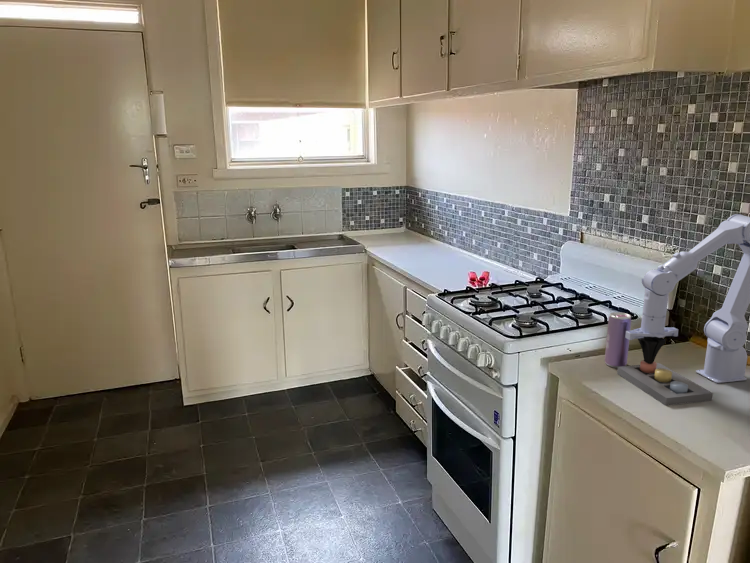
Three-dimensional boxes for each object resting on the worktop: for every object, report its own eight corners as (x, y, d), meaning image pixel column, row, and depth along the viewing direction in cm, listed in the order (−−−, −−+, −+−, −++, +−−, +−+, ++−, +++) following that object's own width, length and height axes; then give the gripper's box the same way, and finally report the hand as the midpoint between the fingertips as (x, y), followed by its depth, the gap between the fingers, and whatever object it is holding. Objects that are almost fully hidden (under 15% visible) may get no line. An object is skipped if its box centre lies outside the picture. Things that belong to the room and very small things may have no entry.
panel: (658, 369, 161) (659, 362, 161) (711, 400, 142) (712, 393, 142) (616, 373, 159) (617, 366, 158) (665, 405, 140) (666, 398, 139)
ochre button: (664, 375, 152) (665, 367, 152) (674, 381, 148) (675, 373, 148) (650, 376, 152) (651, 369, 151) (661, 383, 148) (661, 375, 147)
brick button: (649, 366, 158) (650, 359, 157) (659, 372, 154) (660, 365, 154) (636, 368, 157) (637, 360, 157) (646, 373, 153) (646, 366, 153)
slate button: (679, 388, 147) (680, 380, 146) (690, 395, 143) (691, 387, 142) (665, 390, 146) (666, 382, 146) (676, 396, 142) (677, 388, 142)
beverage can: (628, 369, 162) (633, 318, 158) (606, 367, 163) (611, 317, 159) (624, 361, 167) (629, 312, 164) (602, 359, 169) (607, 311, 165)
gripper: (639, 321, 147) (633, 370, 150) (688, 317, 149) (682, 365, 153) (622, 313, 153) (617, 360, 157) (670, 309, 156) (664, 355, 159)
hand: (648, 362), depth 155 cm, fingers closed
